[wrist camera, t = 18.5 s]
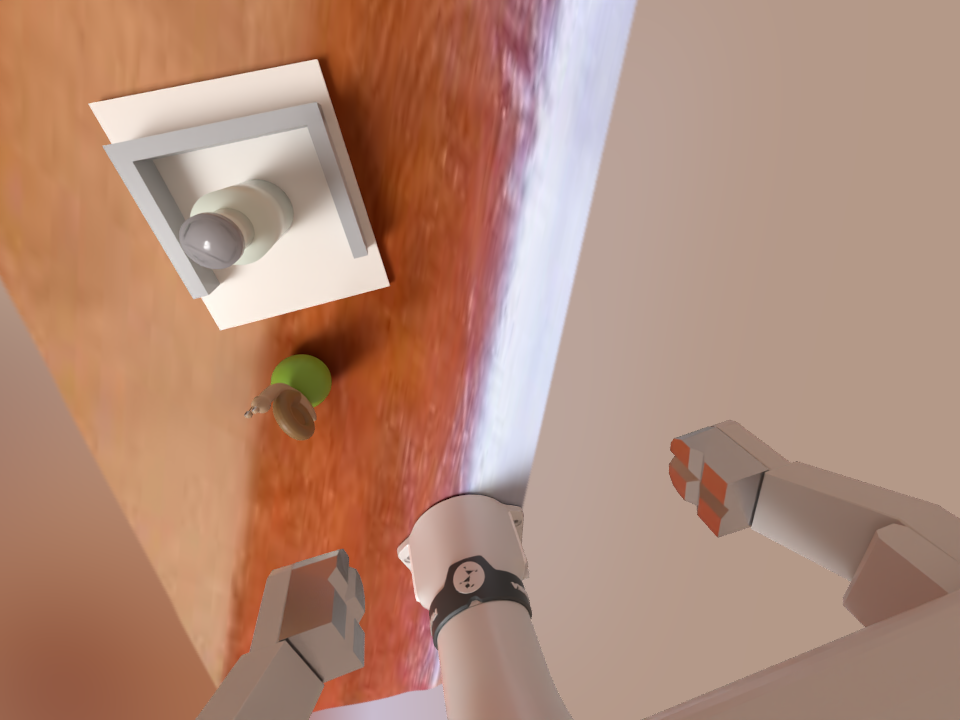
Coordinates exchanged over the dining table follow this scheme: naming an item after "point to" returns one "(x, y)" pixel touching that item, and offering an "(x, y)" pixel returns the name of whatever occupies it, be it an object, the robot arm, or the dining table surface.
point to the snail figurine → (295, 394)
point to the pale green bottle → (236, 224)
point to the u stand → (242, 157)
